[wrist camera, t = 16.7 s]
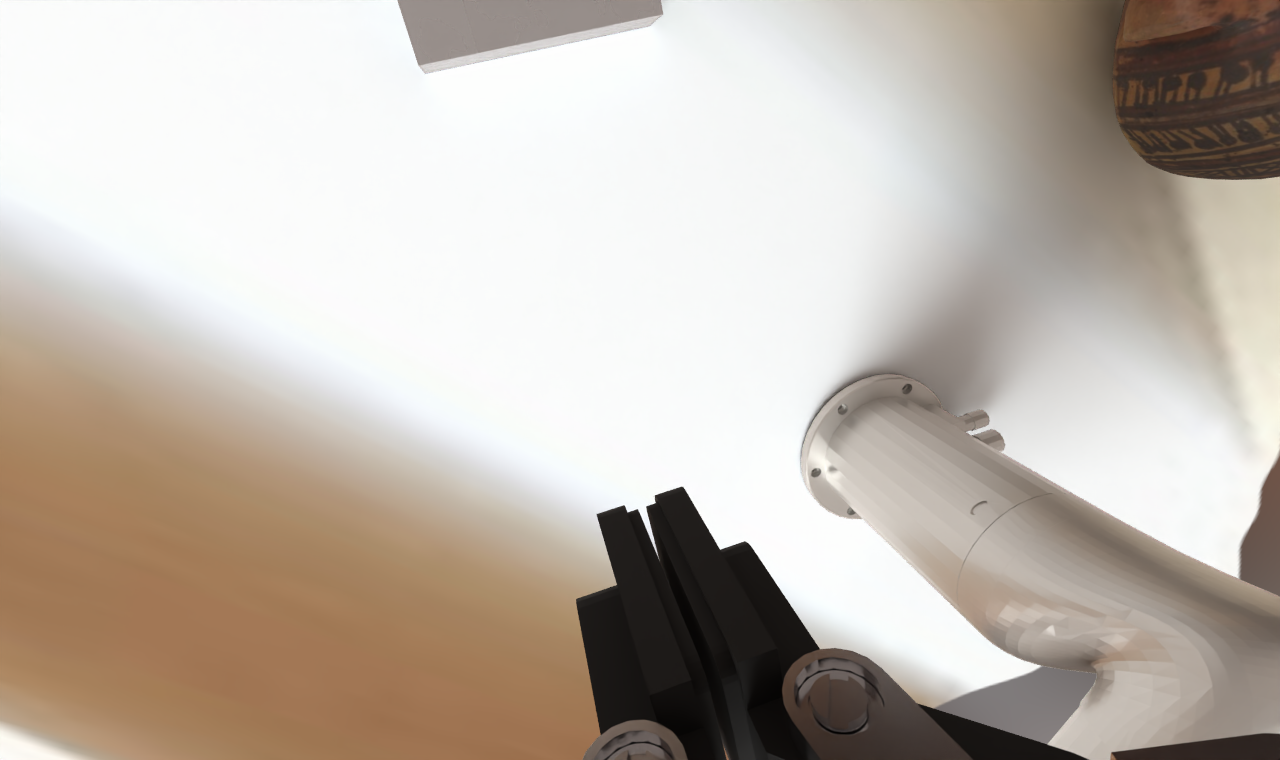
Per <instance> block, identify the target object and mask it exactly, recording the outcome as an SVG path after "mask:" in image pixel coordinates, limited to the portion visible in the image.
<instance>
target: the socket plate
mask: <svg viewBox="0 0 1280 760" xmlns="http://www.w3.org/2000/svg"><path fill="white" fill-rule="evenodd" d="M398 3H399V7H400V10H401V13H402V16H403V19H404V22H405V25H406V28H407V31H408V34H409V37H410V41H411V44H412V47H413V50H414V53H415V56H416V59H417V62H418V65H419V67H420V68H421V69H422V71H423V72H424V73H425V74H426V73H431V72H436V71H441V70H445V69H450V68H455V67H459V66H464V65H469V64H474V63H478V62H483V61H488V60H492V59H497V58H502V57H507V56H511V55H516V54H521V53H525V52H530V51H535V50H540V49H544V48H549V47H554V46H558V45H563V44H568V43H573V42H577V41H582V40H587V39H591V38H596V37H601V36H606V35H610V34H615V33H620V32H624V31H629V30H634V29H639V28H643V27H648V26H650V25H651V24H653V23H654V22H655V21H656V20H657V19H658V18H659V17H661V16H662V15H663V11H662V5H661V0H398Z"/></svg>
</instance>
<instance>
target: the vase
mask: <svg viewBox="0 0 1280 760" xmlns="http://www.w3.org/2000/svg"><path fill="white" fill-rule="evenodd" d="M1113 97H1114V103H1115V109H1116V115H1117V119H1118V122H1119V124H1120V127H1121V130H1122V132H1123V134H1124V136H1125V137H1126V139H1127V140H1128V142H1129V143H1130V145H1131V146H1132V147H1133V149H1134V150H1135V151H1136V152H1137V153H1138V154H1139V155H1140V156H1141V157H1142V158H1143V159H1144V160H1145V161H1146V162H1147V163H1149V164H1151V165H1153V166H1155V167H1157V168H1159V169H1162V170H1164V171H1167V172H1170V173H1173V174H1177V175H1182V176H1187V177H1196V178H1206V179H1225V180H1242V179H1265V178H1272V177H1280V0H1125V4H1124V8H1123V12H1122V17H1121V21H1120V25H1119V30H1118V34H1117V38H1116V43H1115V53H1114V67H1113Z"/></svg>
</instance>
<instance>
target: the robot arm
mask: <svg viewBox="0 0 1280 760" xmlns="http://www.w3.org/2000/svg"><path fill="white" fill-rule="evenodd" d="M987 425H989V416H988V415H987V413H986V412H985V411H984V410H980V409H979V410H976V411H973V412H970V413H967V414H965V415H963V416H960V417H957V416H954V415H952V414H950V413H948V412H946V411H945V410H944V409H943V407H942V404H941V402H940V401H939V399H938V398H937V396H936V395H935V394H934V392H932V391H931V390H930V389H929V388H927V387H926V386H925V385H923V384H921V383H920V382H918V381H916V380H914V379H912V378H908V377H905V376H902V375H895V374H883V375H874V376H871V377H868V378H865V379H861V380H859V381H857V382H855V383H853V384H851V385H849V386H847V387H846V388H844V389H843V390H842V391H840V392H839V393H838V394H836V395H835V396H834V397H833V398H832V399H831V400H830V401H829V402H828V403H827V404H826V405H825V406H824V407H823V408H822V409H821V411H820V412H819V413H818V415H817V416H816V417H815V419H814V420H813V422H812V424H811V426H810V428H809V430H808V432H807V435H806V438H805V441H804V444H803V448H802V455H801V469H802V476H803V479H804V482H805V485H806V487H807V489H808V491H809V492H810V494H811V495H812V496H813V498H814V499H815V500H816V501H817V502H818V503H819V504H820V505H821V506H822V507H823V508H825V509H826V510H827V511H828V512H831V513H833V514H835V515H837V516H839V517H843V518H847V519H863V520H864V521H865V522H866V523H867V524H868V525H869V526H871V527H872V528H873V529H874V530H875V531H876V532H877V533H878V534H879V535H880V536H881V537H882V538H883V539H884V540H885V541H886V542H887V543H888V544H889V545H890V546H891V547H892V548H893V549H894V550H895V551H896V552H897V553H898V554H899V555H900V556H902V557H903V558H904V559H905V560H906V561H907V562H908V563H909V564H910V565H911V566H912V567H913V568H914V569H915V570H916V571H917V572H918V573H919V574H920V575H921V576H922V577H923V578H924V579H925V580H926V581H927V582H928V583H929V584H930V585H931V586H932V587H934V588H935V589H936V590H937V591H938V592H939V593H940V594H941V595H942V596H943V597H944V598H945V599H946V600H947V601H948V602H949V603H950V604H951V605H952V606H953V607H954V608H955V609H956V610H957V611H958V612H959V613H960V614H961V615H962V616H963V617H965V618H966V620H967V621H968V622H969V623H970V624H971V625H972V626H973V627H974V628H976V629H977V630H978V631H979V632H980V633H981V634H982V635H983V636H984V637H985V638H986V639H988V640H989V641H990V642H991V643H992V644H994V645H995V646H997V647H998V648H1000V649H1002V650H1003V651H1005V652H1006V653H1009V654H1011V655H1013V656H1015V657H1017V658H1019V659H1021V660H1024V661H1027V662H1031V663H1034V664H1037V665H1041V666H1046V667H1052V668H1057V669H1063V670H1071V671H1079V672H1088V673H1097V678H1096V681H1095V683H1094V685H1093V686H1092V688H1091V689H1090V690H1089V692H1088V693H1087V694H1086V696H1085V697H1084V698H1083V700H1082V701H1081V702H1080V706H1079V708H1078V709H1077V710H1076V711H1075V712H1074V714H1073V715H1072V716H1071V717H1070V718H1069V719H1068V721H1067V722H1066V723H1065V724H1064V725H1063V726H1062V728H1061V729H1060V730H1059V731H1058V732H1057V734H1056V735H1055V736H1054V737H1053V738H1052V739H1051V741H1050V742H1049V743H1048V744H1044V743H1041V742H1038V741H1034V740H1031V739H1028V738H1025V737H1022V736H1019V735H1015V734H1012V733H1009V732H1006V731H1003V730H1000V729H997V728H993V727H990V726H987V725H984V724H981V723H978V722H974V721H971V720H968V719H965V718H961V717H958V716H955V715H952V714H949V713H946V712H942V711H939V710H936V709H933V708H930V707H927V706H924V705H921V704H917V703H916V702H915V701H914V700H913V699H912V698H911V697H910V696H909V695H908V694H907V693H906V692H905V691H904V690H903V689H902V688H901V687H900V686H899V685H898V684H897V683H896V682H895V681H894V680H893V679H892V678H891V677H890V676H889V675H888V674H887V673H886V672H885V671H884V670H883V669H882V668H881V667H879V666H878V665H877V664H875V663H874V662H873V661H871V660H870V659H869V658H867V657H865V656H862V655H860V654H858V653H855V652H853V651H849V650H843V649H837V648H831V649H819V647H818V646H817V644H816V643H815V641H814V640H813V638H812V637H811V635H810V634H809V632H808V631H807V629H806V628H805V626H804V625H803V623H802V622H801V620H800V619H799V617H798V616H797V614H796V613H795V611H794V610H793V608H792V607H791V605H790V604H789V602H788V601H787V599H786V598H785V596H784V595H783V593H782V592H781V590H780V589H779V587H778V586H777V584H776V583H775V581H774V580H773V578H772V577H771V575H770V574H769V572H768V571H767V569H766V568H765V566H764V565H763V563H762V562H761V560H760V559H759V557H758V556H757V554H756V553H755V551H754V550H753V548H752V547H751V546H750V545H749V543H747V542H742V543H739V544H736V545H733V546H730V547H727V548H724V549H721V550H720V549H719V547H718V546H717V544H716V542H715V540H714V539H713V537H712V535H711V533H710V532H709V530H708V528H707V527H706V525H705V523H704V521H703V520H702V518H701V516H700V515H699V513H698V511H697V509H696V508H695V506H694V504H693V503H692V501H691V499H690V497H689V496H688V494H687V492H686V491H685V489H684V488H683V487H679V488H676V489H673V490H670V491H667V492H664V493H661V494H658V495H655V502H656V503H655V504H652V505H649V506H647V507H646V508H647V513H648V517H649V521H650V525H651V529H652V533H653V536H654V540H655V544H656V548H657V552H658V556H659V559H658V556H657V554H656V552H655V549H654V547H653V544H652V542H651V540H650V537H649V535H648V532H647V530H646V527H645V525H644V523H643V520H642V518H641V515H640V513H639V511H638V509H637V510H634V511H631V512H628V513H627V510H626V508H625V506H621V507H618V508H614V509H611V510H608V511H605V512H602V513H599V514H597V517H598V521H599V524H600V528H601V531H602V535H603V538H604V541H605V545H606V548H607V552H608V555H609V559H610V562H611V566H612V569H613V572H614V576H615V579H616V583H617V585H616V586H613V587H610V588H607V589H604V590H601V591H598V592H595V593H592V594H590V595H587V596H584V597H581V598H578V599H576V604H577V610H578V615H579V620H580V626H581V631H582V637H583V642H584V647H585V653H586V658H587V663H588V669H589V674H590V679H591V685H592V690H593V695H594V701H595V706H596V712H597V717H598V722H599V728H600V733H601V735H600V736H599V737H598V738H597V739H596V740H595V741H594V743H593V744H592V745H591V746H590V748H589V749H588V750H587V751H586V753H585V755H584V757H583V760H726V755H725V751H724V748H725V750H726V753H727V755H728V758H729V760H1280V596H1277V595H1275V594H1273V593H1271V592H1268V591H1266V590H1263V589H1261V588H1259V587H1256V586H1254V585H1252V584H1249V583H1247V582H1245V581H1242V580H1240V579H1238V578H1235V577H1233V576H1231V575H1228V574H1226V573H1224V572H1222V571H1220V570H1218V569H1215V568H1213V567H1211V566H1209V565H1207V564H1205V563H1203V562H1200V561H1198V560H1196V559H1194V558H1192V557H1190V556H1188V555H1185V554H1183V553H1181V552H1179V551H1177V550H1175V549H1173V548H1171V547H1169V546H1168V545H1166V544H1164V543H1162V542H1160V541H1158V540H1156V539H1154V538H1153V537H1151V536H1149V535H1147V534H1145V533H1143V532H1141V531H1139V530H1137V529H1136V528H1134V527H1132V526H1130V525H1128V524H1126V523H1124V522H1122V521H1121V520H1119V519H1117V518H1115V517H1113V516H1112V515H1110V514H1108V513H1106V512H1105V511H1103V510H1101V509H1099V508H1097V507H1096V506H1094V505H1092V504H1091V503H1089V502H1087V501H1085V500H1084V499H1082V498H1080V497H1078V496H1076V495H1074V494H1073V493H1071V492H1069V491H1067V490H1066V489H1064V488H1062V487H1060V486H1059V485H1057V484H1055V483H1053V482H1052V481H1050V480H1048V479H1046V478H1045V477H1043V476H1041V475H1039V474H1038V473H1036V472H1034V471H1032V470H1031V469H1029V468H1027V467H1025V466H1024V465H1022V464H1020V463H1019V462H1017V461H1015V460H1013V459H1012V458H1010V457H1008V456H1006V455H1005V454H1003V453H1001V452H1002V451H1003V450H1004V447H1005V443H1004V439H1003V438H1002V436H1001V435H1000V433H998V432H997V431H996V430H993V429H990V430H987V431H984V432H981V433H978V434H975V435H972V436H971V435H970V434H968V433H966V432H967V431H970V430H972V431H973V430H976V429H979V428H982V427H985V426H987ZM659 560H660V561H659ZM723 745H724V747H723Z"/></svg>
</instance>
